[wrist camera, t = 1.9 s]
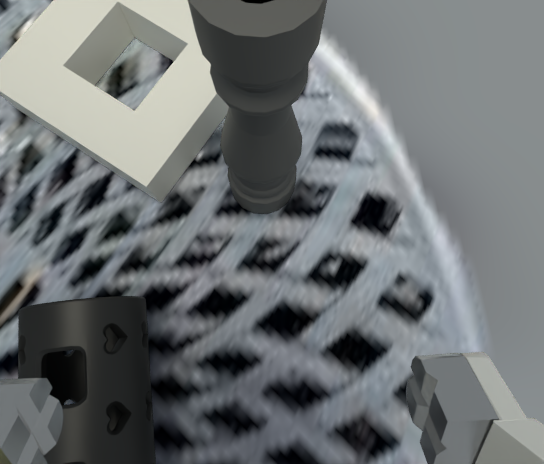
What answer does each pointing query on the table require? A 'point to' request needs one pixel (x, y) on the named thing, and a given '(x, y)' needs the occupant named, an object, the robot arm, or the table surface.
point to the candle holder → (259, 88)
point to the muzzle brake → (93, 376)
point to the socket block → (104, 108)
